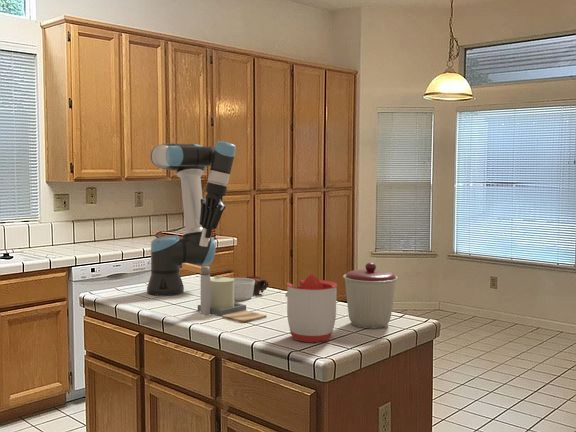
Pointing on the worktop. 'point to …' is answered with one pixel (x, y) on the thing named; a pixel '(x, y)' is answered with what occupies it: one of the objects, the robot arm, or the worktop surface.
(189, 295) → the worktop surface
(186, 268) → the orange bar
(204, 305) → the socket
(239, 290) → the ramekin
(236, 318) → the plate
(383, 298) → the canister
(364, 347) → the worktop surface
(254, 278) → the pottery mug
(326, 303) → the citrus juicer
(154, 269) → the robot arm
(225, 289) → the can
